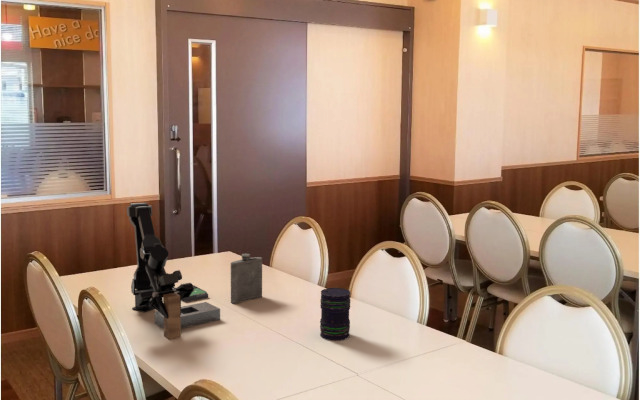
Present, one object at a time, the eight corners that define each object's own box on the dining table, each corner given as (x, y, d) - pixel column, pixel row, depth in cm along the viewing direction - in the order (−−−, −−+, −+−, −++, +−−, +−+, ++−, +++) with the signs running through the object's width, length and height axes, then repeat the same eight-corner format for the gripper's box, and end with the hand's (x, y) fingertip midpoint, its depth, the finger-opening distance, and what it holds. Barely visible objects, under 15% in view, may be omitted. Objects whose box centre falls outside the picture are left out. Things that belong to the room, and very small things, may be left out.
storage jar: (353, 332, 226) (354, 289, 224) (344, 342, 217) (345, 297, 215) (325, 329, 230) (326, 286, 227) (315, 338, 220) (316, 294, 218)
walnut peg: (164, 336, 221) (163, 294, 219) (175, 333, 223) (174, 292, 221) (169, 339, 218) (168, 297, 216) (180, 336, 220) (180, 295, 218)
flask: (228, 302, 258) (227, 256, 256) (257, 295, 268) (257, 250, 265) (233, 304, 256) (233, 257, 253) (263, 297, 265) (263, 252, 263)
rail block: (154, 323, 233) (154, 312, 232) (206, 312, 245) (205, 301, 245) (168, 331, 225) (167, 319, 225) (220, 319, 238) (220, 308, 237)
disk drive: (167, 294, 269) (185, 303, 257) (167, 287, 269) (184, 296, 257) (191, 290, 275) (209, 298, 264) (191, 283, 275) (208, 291, 263)
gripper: (138, 267, 214) (154, 309, 207) (191, 259, 226) (208, 298, 219) (129, 285, 221) (144, 327, 215) (180, 277, 233) (196, 316, 226)
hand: (174, 316), depth 218 cm, fingers closed on walnut peg, 4 cm apart
